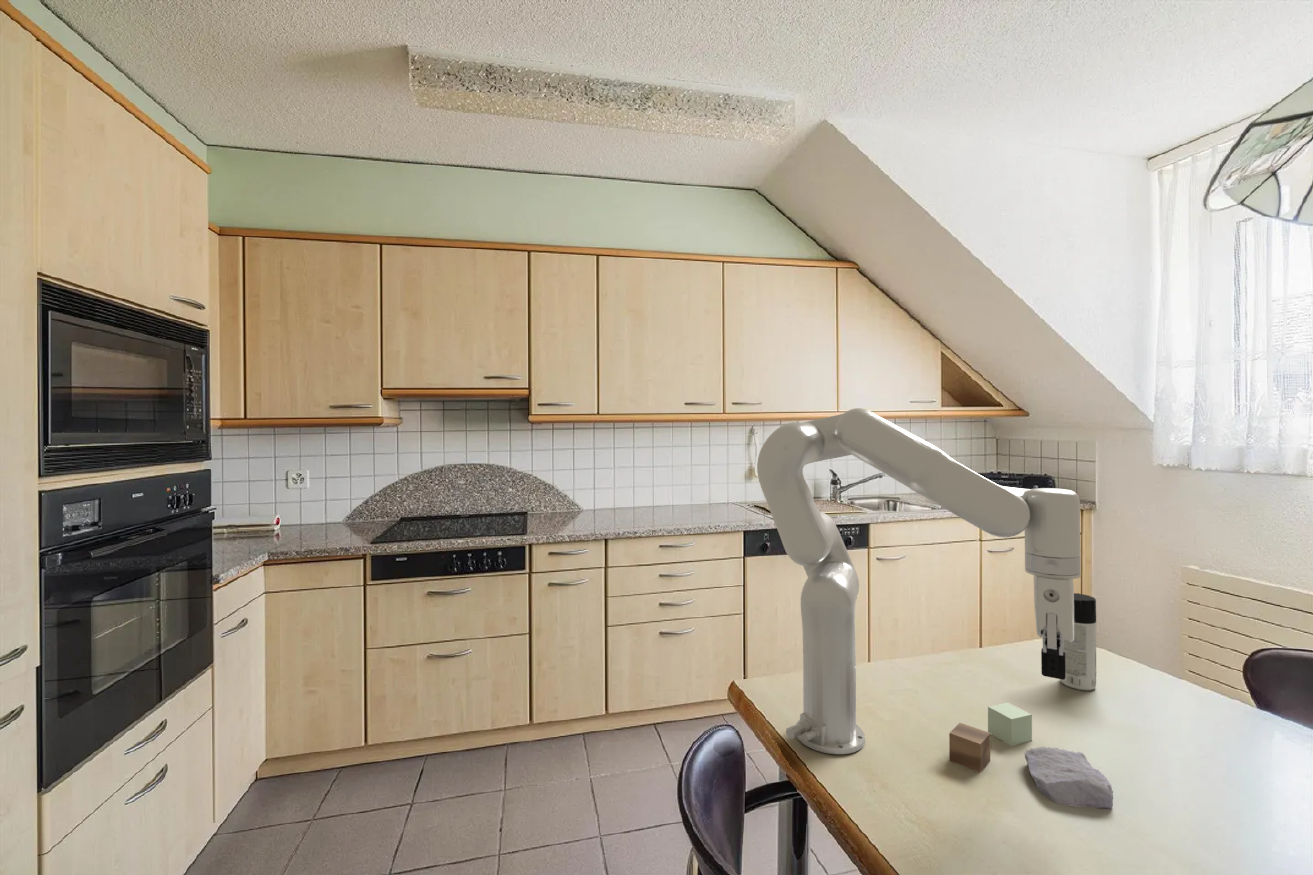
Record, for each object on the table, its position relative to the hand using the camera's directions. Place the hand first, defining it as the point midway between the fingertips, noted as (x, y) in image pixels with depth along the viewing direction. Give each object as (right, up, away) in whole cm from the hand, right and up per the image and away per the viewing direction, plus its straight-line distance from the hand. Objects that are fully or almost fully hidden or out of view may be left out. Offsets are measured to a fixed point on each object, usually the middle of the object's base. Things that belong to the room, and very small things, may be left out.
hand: (1053, 675), depth 95 cm
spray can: (+30, -17, +35) cm, 49 cm away
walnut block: (-10, -18, +6) cm, 21 cm away
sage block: (+1, -17, +14) cm, 22 cm away
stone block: (+1, -18, 0) cm, 18 cm away
